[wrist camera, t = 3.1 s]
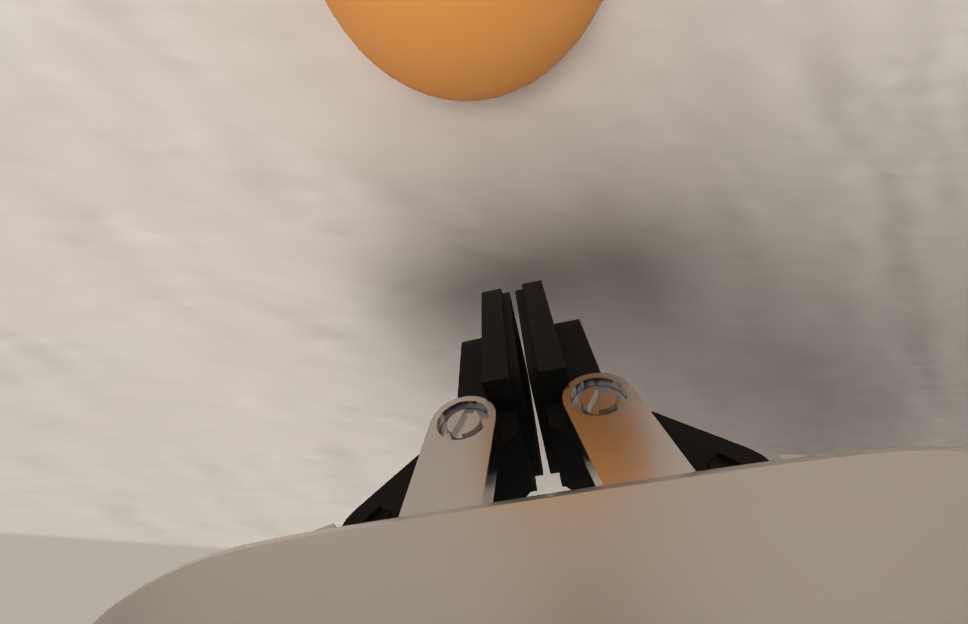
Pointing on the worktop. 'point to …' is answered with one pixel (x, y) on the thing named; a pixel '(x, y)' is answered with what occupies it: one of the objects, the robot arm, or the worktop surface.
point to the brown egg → (464, 41)
